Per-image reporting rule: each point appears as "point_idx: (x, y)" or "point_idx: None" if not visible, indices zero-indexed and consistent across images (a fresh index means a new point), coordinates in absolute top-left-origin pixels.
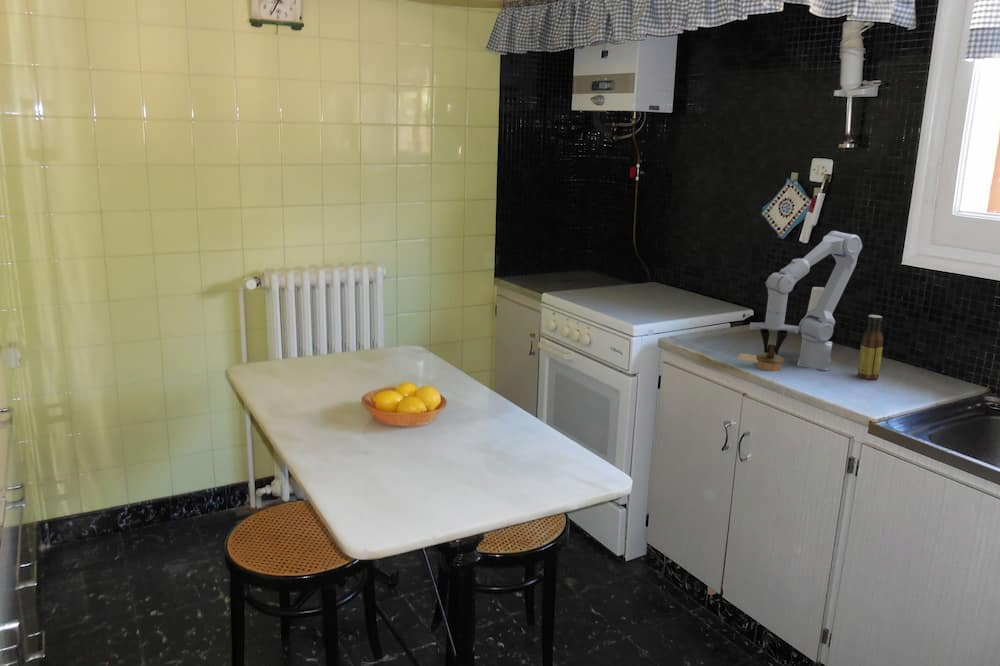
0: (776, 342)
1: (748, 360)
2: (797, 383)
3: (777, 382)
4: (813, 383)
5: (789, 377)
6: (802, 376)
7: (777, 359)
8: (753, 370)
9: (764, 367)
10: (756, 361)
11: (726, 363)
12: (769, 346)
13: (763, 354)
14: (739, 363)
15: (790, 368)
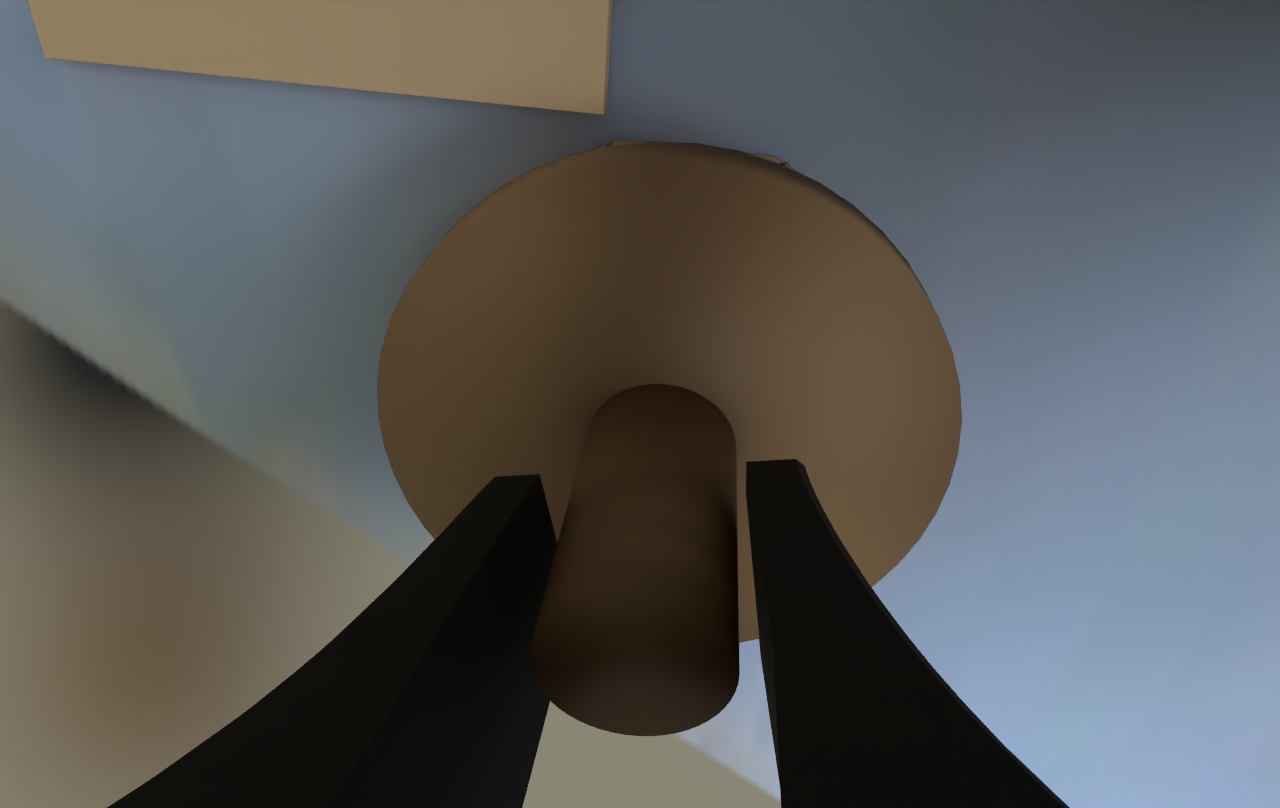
0: (774, 675)
1: (258, 42)
2: None
3: (769, 782)
4: (1223, 721)
5: (951, 609)
6: (1177, 518)
7: None
8: None
9: None
10: (417, 45)
11: (16, 303)
12: (580, 701)
13: (502, 280)
14: (176, 215)
15: (1104, 141)
